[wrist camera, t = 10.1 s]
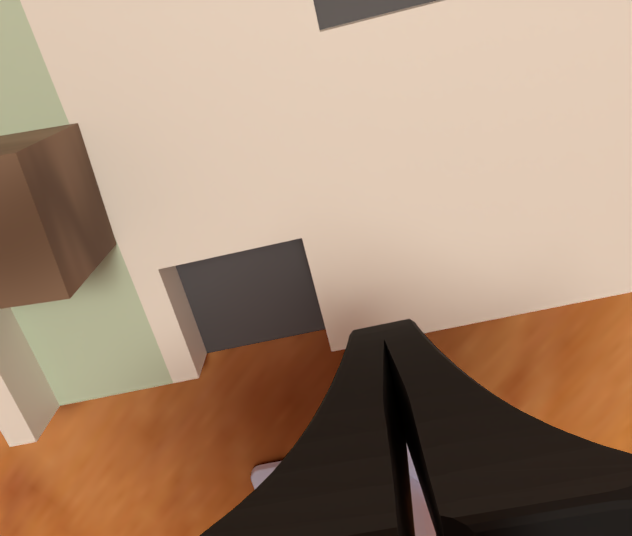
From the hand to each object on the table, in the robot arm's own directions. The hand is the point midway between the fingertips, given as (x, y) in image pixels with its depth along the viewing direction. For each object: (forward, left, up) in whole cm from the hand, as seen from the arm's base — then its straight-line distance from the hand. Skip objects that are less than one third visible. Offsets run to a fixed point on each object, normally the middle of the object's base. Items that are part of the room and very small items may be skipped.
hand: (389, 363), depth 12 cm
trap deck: (+4, 0, -9) cm, 10 cm away
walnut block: (+4, +10, -7) cm, 13 cm away
